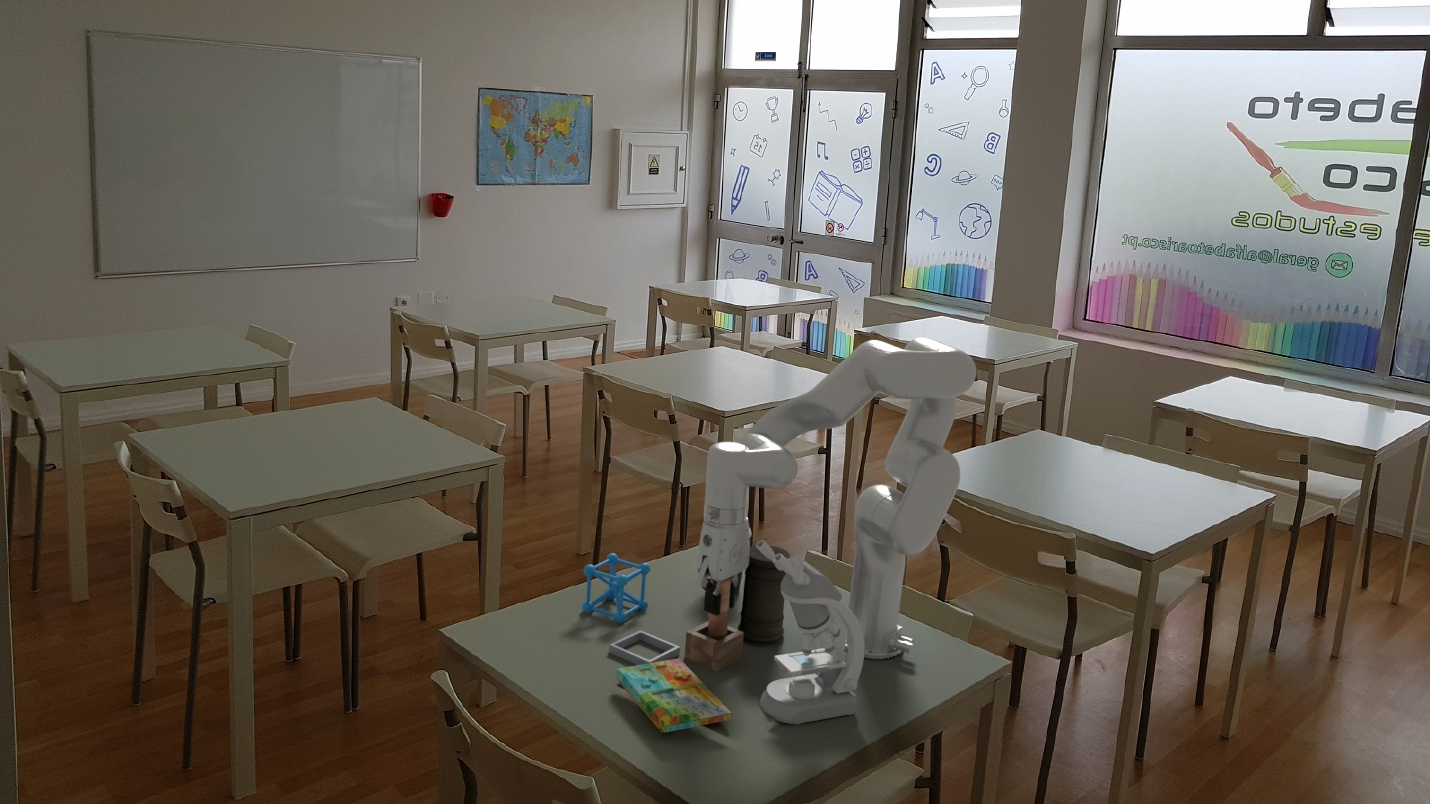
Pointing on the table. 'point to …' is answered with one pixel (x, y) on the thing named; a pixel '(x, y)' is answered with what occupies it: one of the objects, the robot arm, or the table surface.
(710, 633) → the dowel
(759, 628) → the container
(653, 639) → the tray
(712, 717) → the puzzle game
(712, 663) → the pin cup
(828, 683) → the microscope
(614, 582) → the molecular structure
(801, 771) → the table surface
